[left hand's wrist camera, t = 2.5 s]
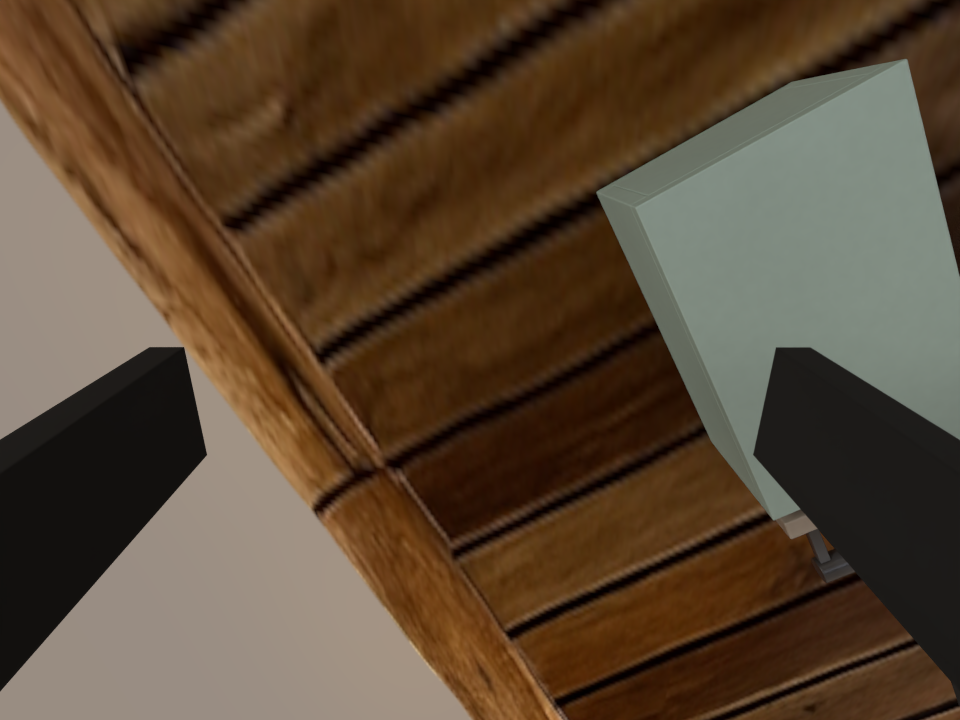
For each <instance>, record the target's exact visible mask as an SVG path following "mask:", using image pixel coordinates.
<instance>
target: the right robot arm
mask: <svg viewBox="0 0 960 720" xmlns="http://www.w3.org/2000/svg"><path fill="white" fill-rule="evenodd" d="M951 683H952V682H951ZM952 686H953V689H954V692H955V694H956V697H957V700H958V703H959V705H960V691H959V690H958V689H957V688H956V686H955V685H954V684H953V683H952Z"/></svg>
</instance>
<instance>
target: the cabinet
mask: <svg viewBox="0 0 960 720" xmlns="http://www.w3.org/2000/svg"><path fill="white" fill-rule="evenodd" d="M597 195H598V198H599V200H600V202H601V204H602V206H603V208H604V211H605V213H606V215H607V217H608V219H609V221H610V224H611V226H612V228H613V230H614V232H615V234H616V236H617V239H618V241H619V243H620V245H621V247H622V249H623V252H624V254H625V256H626V258H627V260H628V262H629V265H630V267H631V269H632V271H633V273H634V275H635V278H636V280H637V282H638V284H639V286H640V288H641V290H642V293H643V295H644V297H645V299H646V301H647V303H648V306H649V308H650V310H651V312H652V314H653V316H654V319H655V321H656V323H657V325H658V327H659V329H660V332H661V334H662V336H663V338H664V340H665V342H666V344H667V347H668V349H669V351H670V353H671V355H672V357H673V360H674V362H675V364H676V366H677V368H678V370H679V373H680V375H681V377H682V379H683V381H684V383H685V385H686V388H687V390H688V392H689V394H690V396H691V398H692V401H693V403H694V405H695V407H696V409H697V411H698V414H699V416H700V418H701V420H702V422H703V424H704V427H705V429H706V431H707V433H708V435H709V437H710V439H711V442H712V443H713V444H714V446H715V447H716V448H717V449H718V451H719V452H720V453H721V454H722V456H723V457H724V458H725V460H726V461H727V462H728V463H729V465H730V466H731V467H732V468H733V470H734V471H735V472H736V474H737V475H738V476H739V477H740V479H741V480H742V481H743V482H744V484H745V485H746V486H747V487H748V489H749V490H750V491H751V493H752V494H753V495H754V496H755V498H756V499H757V500H758V501H759V503H760V504H761V505H762V507H763V508H764V509H765V510H766V512H767V513H768V514H769V515H770V517H771V518H772V519H773V520H776V519H779V518H781V517H784V516H786V515H788V514H791V513H793V512H795V511H798V510H800V508H799V507H798V506H797V505H796V503H795V502H794V501H793V500H792V499H791V498H790V497H789V495H788V494H787V493H786V492H785V491H784V490H783V489H782V487H781V486H780V485H779V484H778V483H777V482H776V481H775V479H774V478H773V477H772V476H771V475H770V474H769V473H768V471H767V470H766V469H765V468H764V467H763V466H762V465H761V463H760V462H759V461H758V460H757V459H756V458H755V457H754V455H753V453H754V448H755V443H756V439H757V434H758V429H759V425H760V420H761V415H762V411H763V406H764V401H765V396H766V392H767V387H768V382H769V378H770V373H771V368H772V364H773V359H774V354H775V349H776V347H811V348H812V349H814V350H816V351H817V352H819V353H820V354H822V355H824V356H825V357H827V358H829V359H830V360H832V361H833V362H835V363H837V364H838V365H840V366H841V367H843V368H845V369H846V370H848V371H850V372H851V373H853V374H854V375H856V376H858V377H859V378H861V379H862V380H864V381H866V382H867V383H869V384H871V385H872V386H874V387H875V388H877V389H879V390H880V391H882V392H883V393H885V394H887V395H888V396H890V397H892V398H893V399H895V400H896V401H898V402H900V403H901V404H903V405H904V406H906V407H908V408H909V409H911V410H913V411H914V412H916V413H917V414H919V415H921V416H922V417H924V418H925V419H927V420H929V421H930V422H932V423H934V424H935V425H937V426H938V427H940V428H942V429H943V430H945V431H946V432H948V433H950V434H951V435H953V436H955V437H956V438H958V439H959V440H960V276H959V272H958V268H957V264H956V260H955V256H954V251H953V247H952V243H951V239H950V235H949V231H948V227H947V222H946V218H945V214H944V210H943V206H942V202H941V198H940V194H939V189H938V185H937V181H936V177H935V173H934V169H933V165H932V160H931V156H930V152H929V148H928V144H927V140H926V136H925V131H924V127H923V123H922V119H921V115H920V111H919V107H918V102H917V98H916V94H915V90H914V86H913V82H912V78H911V73H910V69H909V65H908V61H907V59H903V60H898V61H893V62H888V63H883V64H878V65H873V66H868V67H863V68H858V69H853V70H848V71H843V72H838V73H833V74H828V75H823V76H818V77H813V78H808V79H803V80H800V81H795V82H791V83H789V84H787V85H786V86H784V87H782V88H780V89H778V90H777V91H775V92H773V93H771V94H770V95H768V96H766V97H764V98H762V99H761V100H759V101H757V102H755V103H754V104H752V105H750V106H748V107H746V108H745V109H743V110H741V111H739V112H738V113H736V114H734V115H732V116H730V117H729V118H727V119H725V120H723V121H721V122H720V123H718V124H716V125H714V126H713V127H711V128H709V129H707V130H705V131H704V132H702V133H700V134H698V135H697V136H695V137H693V138H691V139H689V140H688V141H686V142H684V143H682V144H681V145H679V146H677V147H675V148H673V149H672V150H670V151H668V152H666V153H665V154H663V155H661V156H659V157H657V158H656V159H654V160H652V161H650V162H648V163H647V164H645V165H643V166H641V167H640V168H638V169H636V170H634V171H632V172H631V173H629V174H627V175H625V176H624V177H622V178H620V179H618V180H616V181H615V182H613V183H611V184H609V185H608V186H606V187H604V188H602V189H600V190H599V191H597Z"/></svg>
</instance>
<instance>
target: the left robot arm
mask: <svg viewBox="0 0 960 720" xmlns="http://www.w3.org/2000/svg"><path fill="white" fill-rule="evenodd" d="M206 455H207V453H206V448H205V444H204V439H203V434H202V429H201V425H200V420H199V415H198V411H197V406H196V401H195V396H194V392H193V387H192V383H191V378H190V373H189V368H188V364H187V359H186V354H185V349H184V347H149V348H148V349H146V350H144V351H143V352H141V353H140V354H138V355H136V356H135V357H133V358H131V359H130V360H128V361H127V362H125V363H123V364H122V365H120V366H119V367H117V368H115V369H114V370H112V371H111V372H109V373H107V374H106V375H104V376H102V377H101V378H99V379H98V380H96V381H94V382H93V383H91V384H89V385H88V386H86V387H85V388H83V389H82V390H80V391H78V392H77V393H75V394H73V395H72V396H70V397H69V398H67V399H65V400H64V401H62V402H61V403H59V404H57V405H56V406H54V407H52V408H51V409H49V410H47V411H46V412H44V413H43V414H41V415H39V416H38V417H36V418H35V419H33V420H31V421H30V422H28V423H27V424H25V425H23V426H22V427H20V428H18V429H17V430H15V431H14V432H12V433H10V434H9V435H7V436H5V437H4V438H2V439H1V440H0V691H1V690H2V689H3V688H4V686H5V685H6V684H7V683H8V682H9V681H10V680H11V678H12V677H13V676H14V675H15V674H16V673H17V671H18V670H19V669H20V668H21V667H22V666H23V665H24V664H25V662H26V661H27V660H28V659H29V658H30V657H31V656H32V654H33V653H34V652H35V651H36V650H37V649H38V648H39V646H40V645H41V644H42V643H43V642H44V641H45V640H46V638H47V637H48V636H49V635H50V634H51V633H52V632H53V630H54V629H55V628H56V627H57V626H58V625H59V624H60V622H61V621H62V620H63V619H64V618H65V617H66V616H67V614H68V613H69V612H70V611H71V610H72V609H73V607H74V606H75V605H76V604H77V603H78V602H79V601H80V600H81V598H82V597H83V596H84V595H85V594H86V593H87V592H88V590H89V589H90V588H91V587H92V586H93V585H94V584H95V582H96V581H97V580H98V579H99V578H100V577H101V575H102V574H103V573H104V572H105V571H106V570H107V569H108V567H109V566H110V565H111V564H112V563H113V562H114V561H115V559H116V558H117V557H118V556H119V555H120V554H121V553H122V551H123V550H124V549H125V548H126V547H127V546H128V545H129V543H130V542H131V541H132V540H133V539H134V538H135V537H136V535H137V534H138V533H139V532H140V531H141V530H142V529H143V527H144V526H145V525H146V524H147V523H148V522H149V521H150V519H151V518H152V517H153V516H154V515H155V514H156V513H157V511H158V510H159V509H160V508H161V507H162V506H163V505H164V503H165V502H166V501H167V500H168V499H169V498H170V497H171V495H172V494H173V493H174V492H175V491H176V490H177V489H178V487H179V486H180V485H181V484H182V483H183V482H184V481H185V479H186V478H187V477H188V476H189V475H190V474H191V473H192V471H193V470H194V469H195V468H196V467H197V466H198V465H199V463H200V462H201V461H202V460H203V459H204V458H205V457H206ZM753 455H754V457H755V458H756V459H757V460H758V461H759V462H760V463H761V465H762V466H763V467H764V468H765V469H766V470H767V471H768V473H769V474H770V475H771V476H772V477H773V478H774V479H775V481H776V482H777V483H778V484H779V485H780V486H781V487H782V489H783V490H784V491H785V492H786V493H787V494H788V495H789V497H790V498H791V499H792V500H793V501H794V502H795V503H796V505H797V506H798V507H799V508H800V509H801V510H802V511H803V513H804V514H805V515H806V516H807V517H808V518H809V519H810V521H811V522H812V523H813V524H814V525H815V526H816V527H817V529H818V530H819V531H820V532H821V533H822V534H823V535H824V537H825V538H826V539H827V540H828V541H829V542H830V543H831V545H832V546H833V547H834V548H835V549H836V550H837V551H838V553H839V554H840V555H841V556H842V557H843V558H844V559H845V561H846V562H847V563H848V564H849V565H850V566H851V567H852V569H853V570H854V571H855V572H856V573H857V574H858V575H859V577H860V578H861V579H862V580H863V581H864V582H865V584H866V585H867V586H868V587H869V588H870V589H871V590H872V592H873V593H874V594H875V595H876V596H877V597H878V598H879V600H880V601H881V602H882V603H883V604H884V605H885V606H886V608H887V609H888V610H889V611H890V612H891V613H892V614H893V616H894V617H895V618H896V619H897V620H898V621H899V622H900V624H901V625H902V626H903V627H904V628H905V629H906V630H907V632H908V633H909V634H910V635H911V636H912V637H913V638H914V640H915V641H916V642H917V643H918V644H919V645H920V646H921V648H922V649H923V650H924V651H925V652H926V653H927V654H928V656H929V657H930V658H931V659H932V660H933V661H934V662H935V664H936V665H937V666H938V667H939V668H940V669H941V670H942V672H943V673H944V674H945V675H946V676H947V677H948V678H949V680H950V681H951V682H952V683H953V684H954V685H955V686H956V688H957V689H958V690H959V691H960V440H959V439H958V438H956V437H955V436H953V435H951V434H950V433H948V432H946V431H945V430H943V429H942V428H940V427H938V426H937V425H935V424H934V423H932V422H930V421H929V420H927V419H925V418H924V417H922V416H921V415H919V414H917V413H916V412H914V411H913V410H911V409H909V408H908V407H906V406H904V405H903V404H901V403H900V402H898V401H896V400H895V399H893V398H892V397H890V396H888V395H887V394H885V393H883V392H882V391H880V390H879V389H877V388H875V387H874V386H872V385H871V384H869V383H867V382H866V381H864V380H862V379H861V378H859V377H858V376H856V375H854V374H853V373H851V372H850V371H848V370H846V369H845V368H843V367H841V366H840V365H838V364H837V363H835V362H833V361H832V360H830V359H829V358H827V357H825V356H824V355H822V354H820V353H819V352H817V351H816V350H814V349H812V348H811V347H776V349H775V354H774V359H773V364H772V368H771V373H770V378H769V382H768V387H767V392H766V396H765V401H764V406H763V411H762V415H761V420H760V425H759V429H758V434H757V439H756V443H755V448H754V453H753Z"/></svg>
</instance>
